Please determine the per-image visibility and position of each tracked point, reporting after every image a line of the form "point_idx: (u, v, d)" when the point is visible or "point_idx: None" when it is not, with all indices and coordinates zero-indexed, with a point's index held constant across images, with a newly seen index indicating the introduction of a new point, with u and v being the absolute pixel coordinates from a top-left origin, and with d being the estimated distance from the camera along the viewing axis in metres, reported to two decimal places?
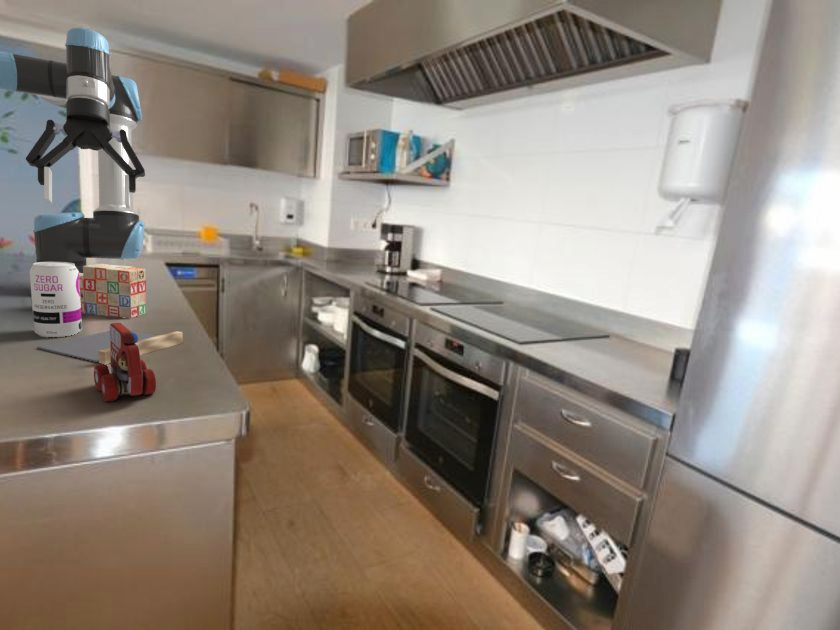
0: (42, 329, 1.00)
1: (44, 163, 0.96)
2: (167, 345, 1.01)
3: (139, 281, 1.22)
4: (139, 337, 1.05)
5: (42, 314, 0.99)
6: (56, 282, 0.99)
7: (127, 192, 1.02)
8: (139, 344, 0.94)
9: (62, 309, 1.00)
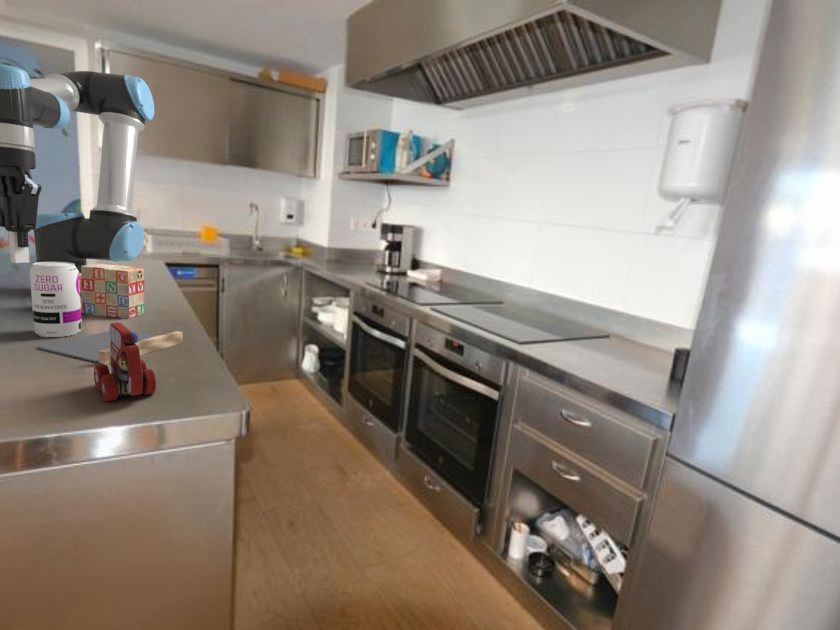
0: (42, 329, 1.00)
1: (8, 226, 1.02)
2: (167, 345, 1.01)
3: (137, 281, 1.22)
4: (139, 337, 1.05)
5: (42, 314, 0.99)
6: (56, 282, 0.99)
7: (13, 250, 1.02)
8: (139, 344, 0.94)
9: (62, 309, 1.00)
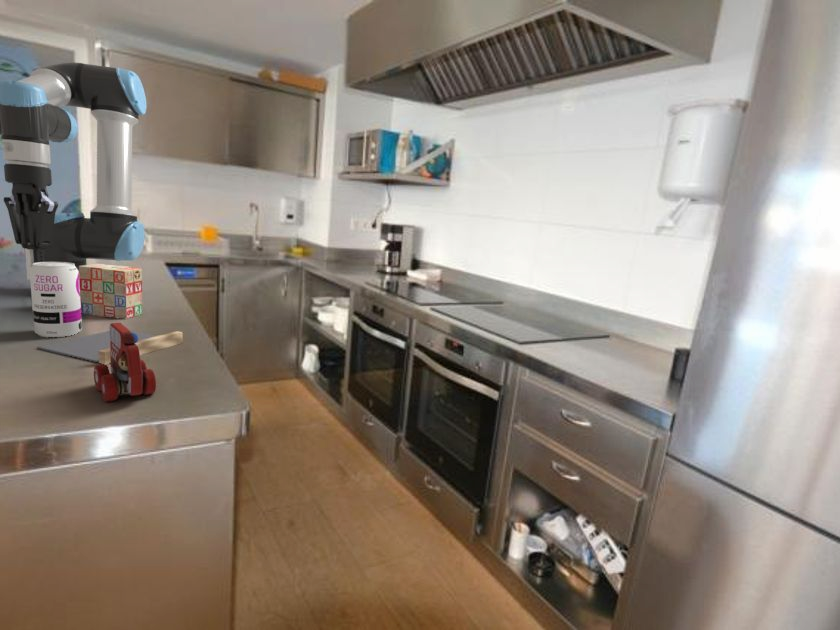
0: (42, 329, 1.00)
1: (24, 243, 1.01)
2: (167, 345, 1.01)
3: (135, 281, 1.22)
4: (139, 337, 1.05)
5: (42, 314, 0.99)
6: (56, 282, 0.99)
7: (30, 267, 1.01)
8: (139, 344, 0.94)
9: (62, 309, 1.00)
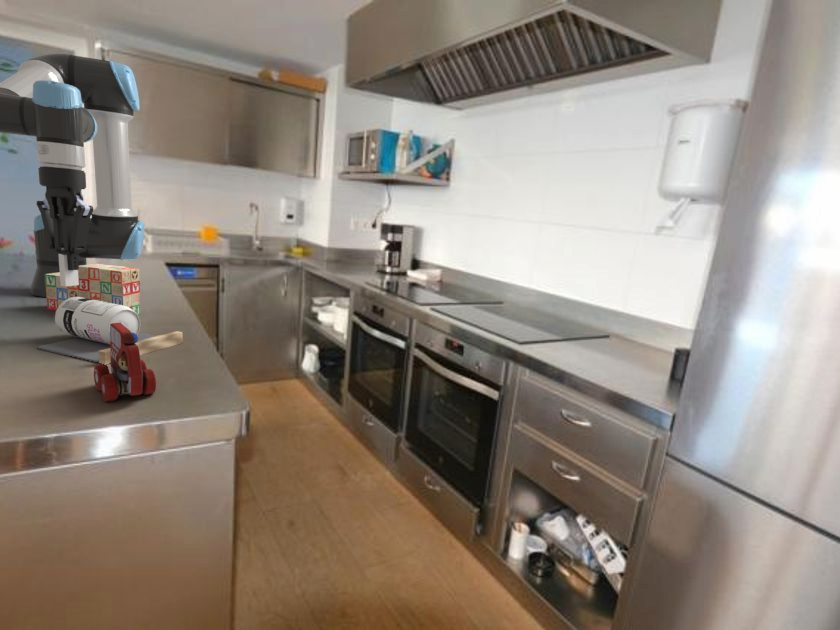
0: (58, 322, 0.98)
1: (58, 248, 0.98)
2: (167, 345, 1.01)
3: (132, 281, 1.21)
4: (139, 337, 1.05)
5: (71, 327, 0.97)
6: (102, 342, 0.97)
7: (64, 273, 0.98)
8: (139, 344, 0.94)
9: (84, 338, 0.99)
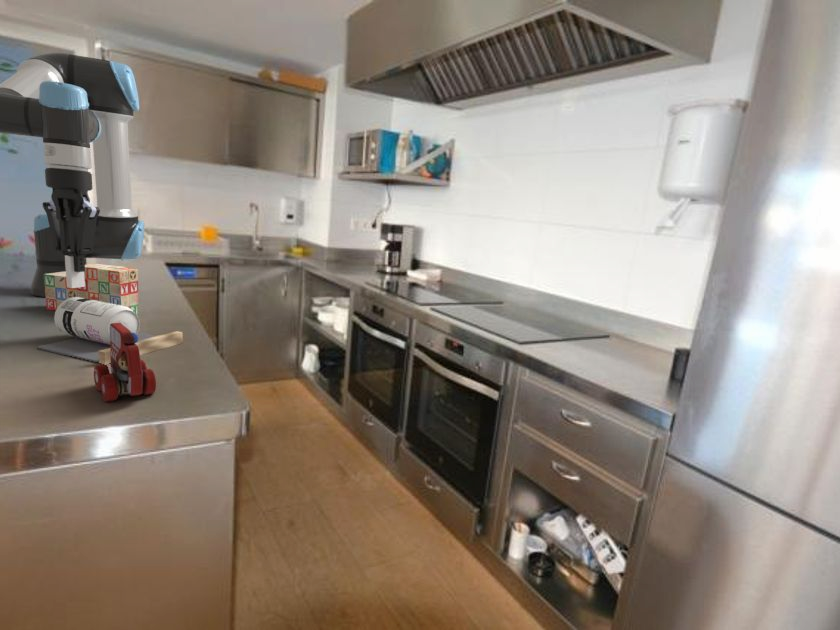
0: (58, 323, 0.98)
1: (64, 250, 0.98)
2: (167, 345, 1.01)
3: (130, 281, 1.21)
4: (139, 337, 1.05)
5: (70, 328, 0.97)
6: (102, 342, 0.97)
7: (70, 275, 0.98)
8: (139, 344, 0.94)
9: (84, 338, 0.99)
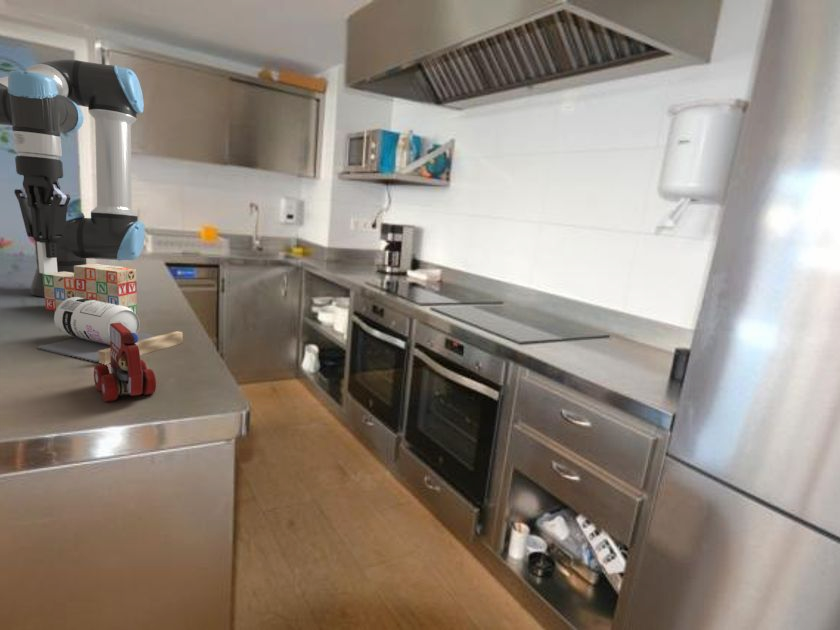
0: (58, 323, 0.98)
1: (36, 236, 1.00)
2: (167, 345, 1.01)
3: (129, 282, 1.20)
4: (139, 337, 1.05)
5: (70, 328, 0.97)
6: (102, 342, 0.97)
7: (42, 261, 1.01)
8: (139, 344, 0.94)
9: None
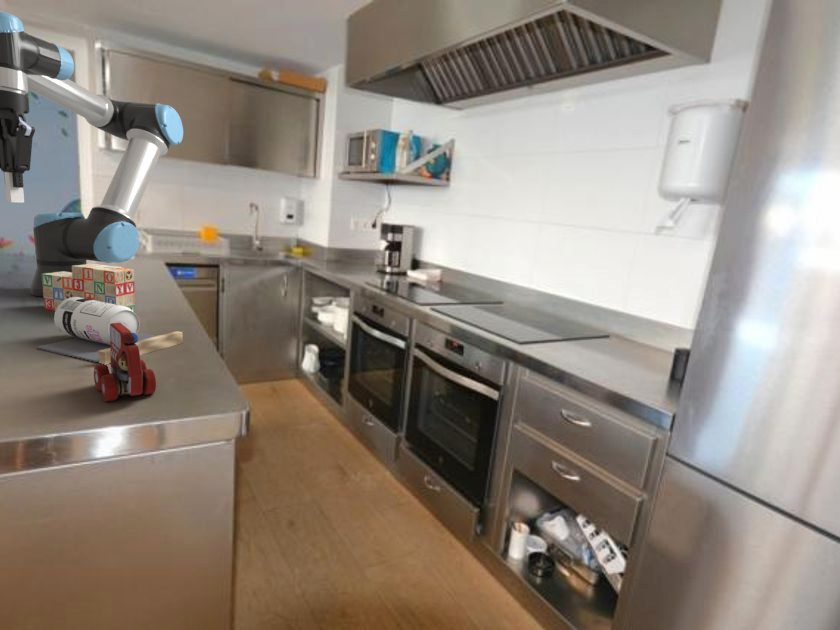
0: (58, 323, 0.98)
1: (4, 167, 1.08)
2: (167, 345, 1.01)
3: (126, 282, 1.20)
4: (139, 337, 1.05)
5: (70, 328, 0.97)
6: (102, 342, 0.97)
7: (9, 190, 1.08)
8: (139, 344, 0.94)
9: None
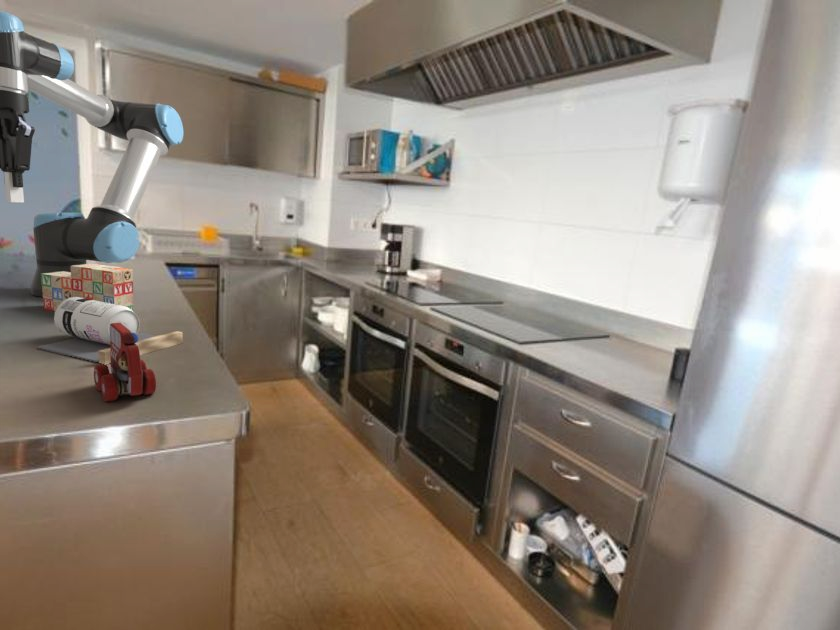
0: (58, 323, 0.98)
1: (3, 166, 1.08)
2: (167, 345, 1.01)
3: (125, 282, 1.20)
4: (139, 337, 1.05)
5: (70, 328, 0.97)
6: (102, 342, 0.97)
7: (9, 190, 1.08)
8: (139, 344, 0.94)
9: None
